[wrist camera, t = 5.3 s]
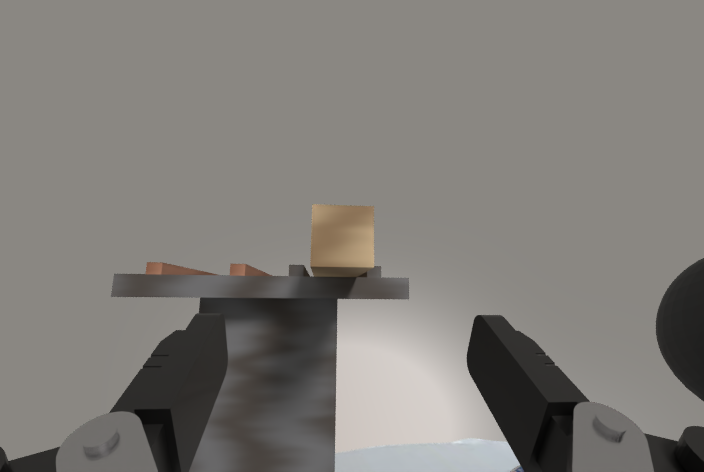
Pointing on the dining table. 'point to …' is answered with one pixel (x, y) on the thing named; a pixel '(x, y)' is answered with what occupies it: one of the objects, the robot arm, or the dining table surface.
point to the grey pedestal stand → (269, 360)
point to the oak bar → (342, 240)
